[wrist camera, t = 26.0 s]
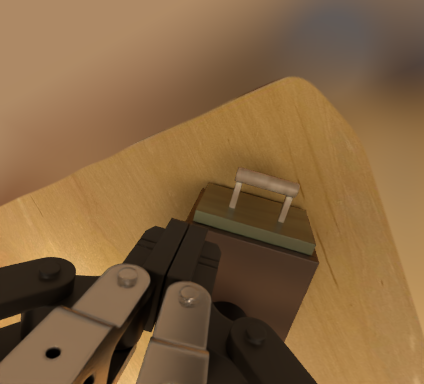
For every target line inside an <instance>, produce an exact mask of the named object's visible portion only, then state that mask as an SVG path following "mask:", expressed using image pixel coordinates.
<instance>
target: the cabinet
mask: <svg viewBox="0 0 424 384" xmlns="http://www.w3.org/2000/svg"><path fill="white" fill-rule="evenodd" d="M205 190H206V189H204V188H202V190H201V192H200V194H199V196H198V198H197V200H196V202H195V204H194V206H193V208H192V210H191V212H190V214H189V216H188V218H187V220H186V222H188V223H190V224H195V225H198V226H202V227H205V228H208V233H207V237H206V240H205V241H208V242H212V243H215V244H218V246H219V248H220V250H221V257H220V262H219V266H218V271H217V275H216V279H215V284H214V288H213V292H212V301H213V303H214V302H218V301H225V302H230V303H233V304H235V305H237V306H238V307H240V308H241V309H242V310H243V311H244V313H245V314H246V316H247V317H253V318H257V319H259V320H262V321H263V322H265V323H267V324H268V325H269V326H270V327H271V328H272V329H273V330H274V331H275V332H276V333H277V335H278V336H279V337H280V338H281V340H282V341H283V342H284V341H285V339H286V337H287V335H288V332H289V330H290V328H291V325H292V323H293V321H294V319H295V316H296V314H297V312H298V310H299V307H300V305H301V303H302V301H303V298H304V296H305V294H306V292H307V289H308V287H309V285H310V282H311V280H312V278H313V276H314V273H315V271H316V269H317V267H318V264H319V261H318V258H317V254H316V251H315V248H314V251H313V253H312V255H308V254H304V253H301V252H294V251H290V250H287V249H283V248H280V247H277V246H273V245H270V244H266V243H263V242H260V241H256V240H253V239H249V238H246V237H242V236H239V235H236V234H232V233H229V232H225V231H222V230H219V229H215V228H212V227H208V226H205V225H202V223H198V222H195V221H193V219H194V215H195V211H196V208H197V206H198V204H199V202H200V200H201V198H202V196H203V194H204V192H205ZM189 227H190V226H189Z"/></svg>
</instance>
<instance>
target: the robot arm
mask: <svg viewBox="0 0 424 384" xmlns="http://www.w3.org/2000/svg"><path fill="white" fill-rule="evenodd" d="M189 226H190V227H189ZM207 233H208V228H205V227H202V226H198V225H195V224H190V223H188V222H184V221H181V220H177V219H174V218H172V219H171V220H170V222H169V224H168V225H167V227H166V228H165V229H164V228H161V227H157V226H154V227H152V228H150V229H148V230H146V231H145V233H144V234H143V235H142V237H141V239H140V240H139V241H138V242H137V244H136V245H135V247H134V248H133V249H132V251H131V252H130V253H129V255H128V256H127V258H126V259H125V260H124V262H123V263H122V264H117V265H114V266H111V267H110V268H108V269H107V270H106V271H105V272H104V273H103V274H102V275H101V276H81V275H75V274H76V269H75V267H74V265H73V264H72V263H71V262H69V261H67V260H65V259H62V258H56V257H46V258H40V259H36V260H32V261H27V262H23V263H19V264H14V265H10V266H5V267H1V268H0V320H2V319H5V318H8V317H11V316H14V315H17V314H20V313H21V321H20V322H18V323H15V324H12V325H9V326H6V327H3V328H0V384H117V382H118V380H119V378H120V376H121V375H122V373H123V371H124V369H125V368H126V366H127V364H128V362H129V360H130V359H131V357H132V355H133V353H134V352H135V349H136V345H137V342H138V341H139V339H140V337H141V335H142V332H143V330H145V331H149V332H152V329H153V327H154V325H155V328H154V332H153V336H152V337H151V338H150V341H149V344H148V347H147V350H146V353H145V357H144V360H143V363H142V366H141V369H140V372H139V376H138V379H137V382H136V384H317V383H316V381H315V380H314V379H313V378H312V376H311V375H310V374H309V373H308V372H307V370H306V369H305V368H304V367H303V365H302V364H301V363H300V362H299V360H298V359H297V358H296V357H295V356H294V354H293V353H292V352H291V351H290V349H289V348H288V347H287V346H286V344H285V343H284V342H283V341H282V340H281V338H280V337H279V336H278V335H277V333H276V332H275V331H274V330H273V329H272V328H271V327H270V326H269V325H268V324H267V323H265V322H263V321H262V320H259V319H257V318H253V317H241V318H238V319H236V320H235V321H234V322H233V321H232V320H230V319H228V318H227V317H225V316H224V315H222V314H221V313H220V312H219V311H218V310H217V309H216V307H215V306H214V304H213V301H212V292H213V288H214V284H215V279H216V275H217V271H218V266H219V262H220V257H221V250H220V248H219V246H218V244H215V243H212V242H208V241H205V240H206V237H207ZM155 322H156V323H155Z"/></svg>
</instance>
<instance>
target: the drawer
mask: <svg viewBox="0 0 424 384" xmlns="http://www.w3.org/2000/svg"><path fill="white" fill-rule="evenodd" d="M235 181H236V184H235V188H234V190H232V189H229V188H225V187H222V186H218V185H215V184H212V183H208V185H207V187H206V190H205V192H204V194H203V196H202V198H201V200H200V202H199V204H198V206H197V208H196V211H195V215H194V219H193V221H195V222H198V223H202V225H205V226H208V227H212V228H215V229H219V230H222V231H225V232H229V233H232V234H236V235H239V236H242V237H246V238H249V239H253V240H256V241H260V242H263V243H266V244H270V245H273V246H277V247H280V248H283V249H287V250H290V251H294V252H301V253H304V254H308V255H312V253H313V251H314V248H315V246H316V243H315V240H314V236H313V233H312V230H311V226H310V223H309V219H308V216H307V212H306V210H302V209H299V208H295V207H292V206H290V204H291V202H292V199H293V197H294V198H295V197H296V196H297V194H298V191H299V184H298V183H295V182H291V181H288V180H284V179H281V178H277V177H274V176H270V175H267V174H263V173H260V172H256V171H252V170H249V169H245V168H242V167H238V170H237V173H236V177H235ZM242 183H245V184H248V185H252V186H255V187H259V188H262V189H266V190H269V191H273V192H276V193H280V194H283V195H286V197H285V200H284V203H283V204H281V203H278V202H274V201H271V200H267V199H264V198H260V197H257V196H253V195H250V194H246V193H243V192H240V190H241V186H242Z"/></svg>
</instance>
